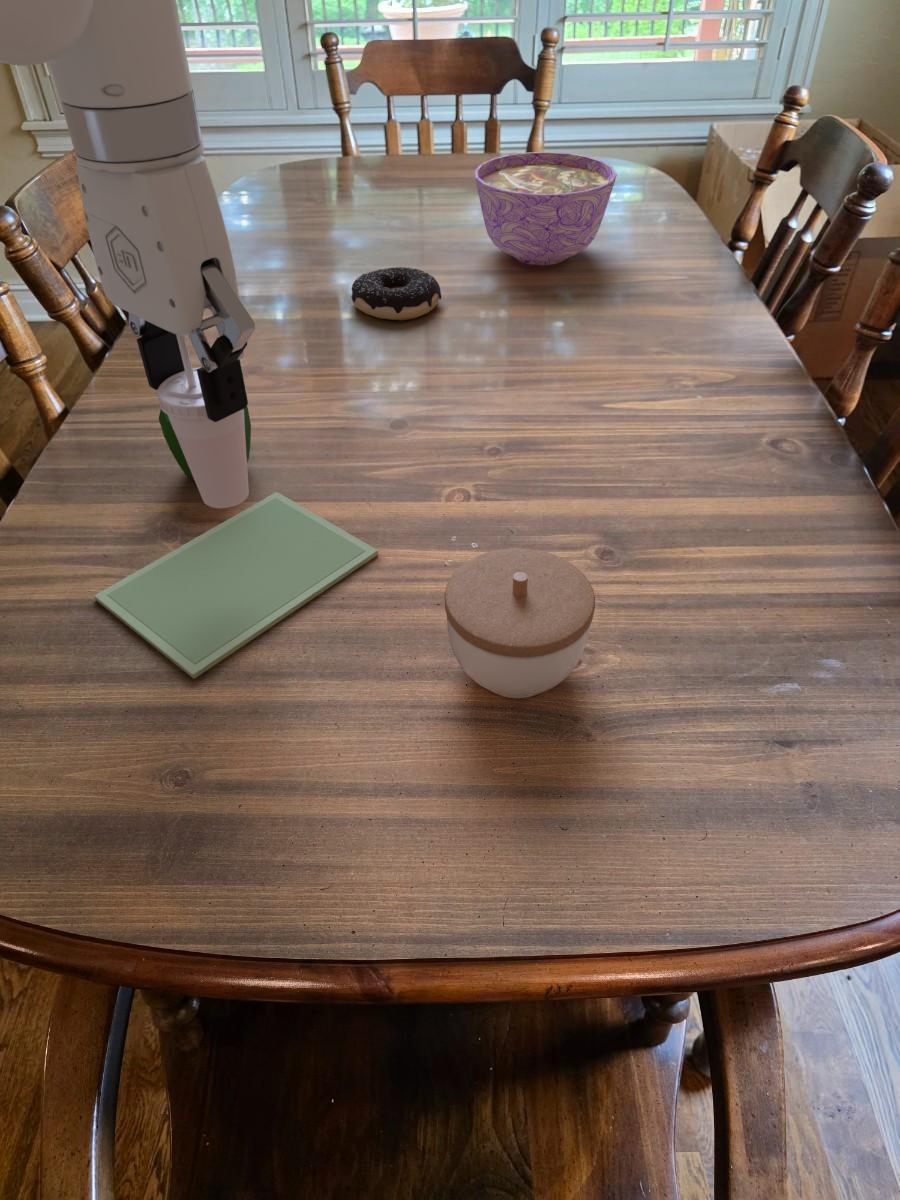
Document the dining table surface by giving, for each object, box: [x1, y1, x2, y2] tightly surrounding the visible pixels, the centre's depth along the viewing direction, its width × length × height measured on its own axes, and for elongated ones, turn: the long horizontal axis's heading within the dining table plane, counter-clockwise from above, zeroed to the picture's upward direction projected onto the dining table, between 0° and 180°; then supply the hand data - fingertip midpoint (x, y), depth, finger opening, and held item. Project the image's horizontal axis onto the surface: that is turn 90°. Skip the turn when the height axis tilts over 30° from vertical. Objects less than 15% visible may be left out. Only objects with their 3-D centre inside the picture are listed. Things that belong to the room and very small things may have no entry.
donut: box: [350, 266, 442, 321], centre depth 116 cm, size 11×12×4 cm
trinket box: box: [444, 547, 596, 699], centre depth 64 cm, size 11×11×9 cm
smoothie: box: [156, 335, 250, 509], centre depth 65 cm, size 6×6×14 cm
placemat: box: [93, 491, 379, 680], centre depth 75 cm, size 20×14×1 cm
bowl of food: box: [474, 151, 618, 266], centre depth 126 cm, size 20×20×12 cm
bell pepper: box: [158, 406, 252, 481], centre depth 85 cm, size 8×8×10 cm
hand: (198, 395), depth 64 cm, fingers closed on smoothie, 6 cm apart
